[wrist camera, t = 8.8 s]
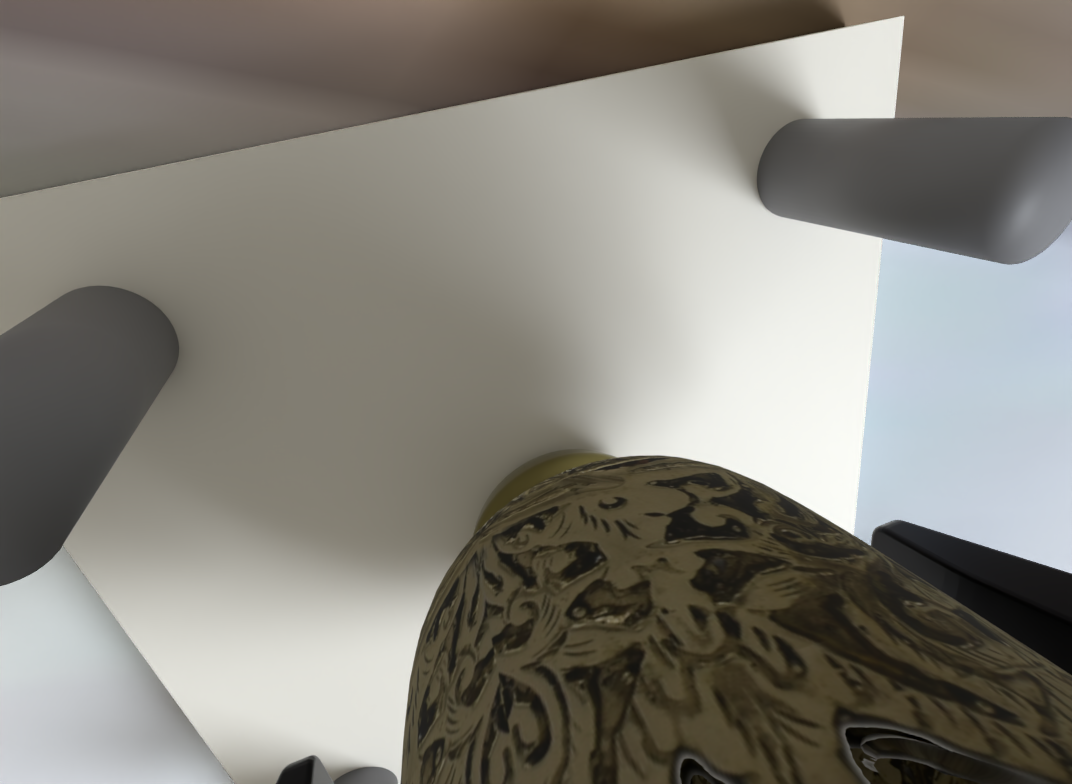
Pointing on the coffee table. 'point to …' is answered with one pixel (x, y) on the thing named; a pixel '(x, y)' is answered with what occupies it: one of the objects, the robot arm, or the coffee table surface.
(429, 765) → the dark brown ornate lampshade
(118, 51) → the coffee table surface
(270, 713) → the peg stand
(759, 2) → the coffee table surface
